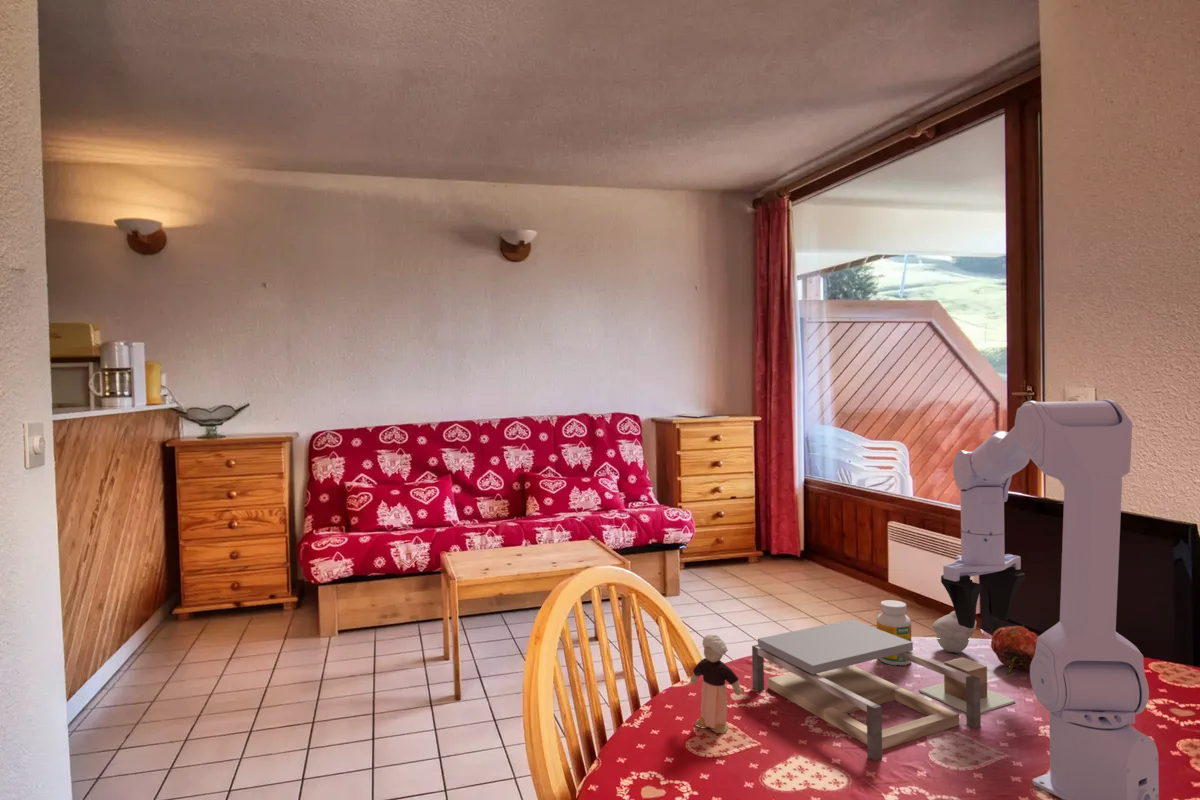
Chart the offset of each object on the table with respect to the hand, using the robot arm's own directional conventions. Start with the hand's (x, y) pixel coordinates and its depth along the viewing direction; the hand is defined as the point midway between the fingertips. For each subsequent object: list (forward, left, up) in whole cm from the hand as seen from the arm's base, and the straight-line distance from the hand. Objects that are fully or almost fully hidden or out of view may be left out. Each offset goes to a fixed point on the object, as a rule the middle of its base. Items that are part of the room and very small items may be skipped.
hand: (983, 622), depth 106 cm
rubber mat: (0, +4, -10) cm, 11 cm away
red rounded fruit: (+3, -12, -11) cm, 16 cm away
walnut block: (0, +4, -10) cm, 11 cm away
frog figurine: (+13, -10, -11) cm, 20 cm away
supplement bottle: (+15, +2, -11) cm, 18 cm away
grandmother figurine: (+9, +42, -11) cm, 44 cm away
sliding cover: (+10, +20, -4) cm, 23 cm away
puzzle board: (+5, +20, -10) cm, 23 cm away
